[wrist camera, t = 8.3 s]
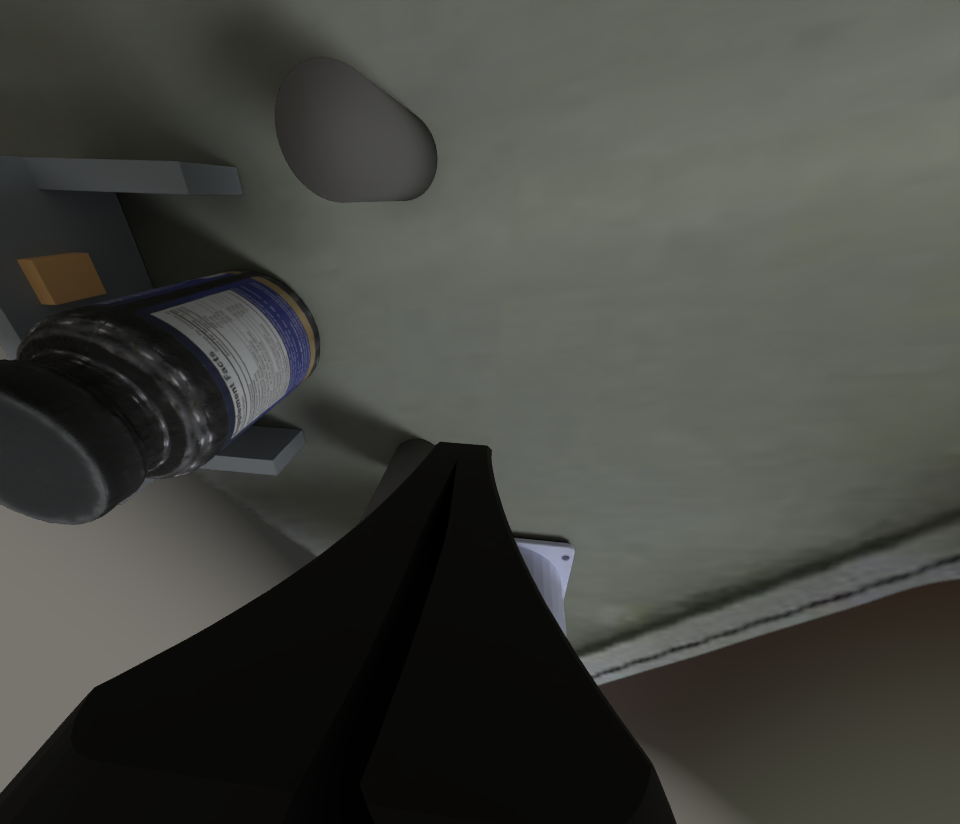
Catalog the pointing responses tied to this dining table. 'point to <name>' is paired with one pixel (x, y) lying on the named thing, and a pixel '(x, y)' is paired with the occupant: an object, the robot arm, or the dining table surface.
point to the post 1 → (351, 136)
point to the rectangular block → (100, 258)
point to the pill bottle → (144, 389)
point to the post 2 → (399, 470)
